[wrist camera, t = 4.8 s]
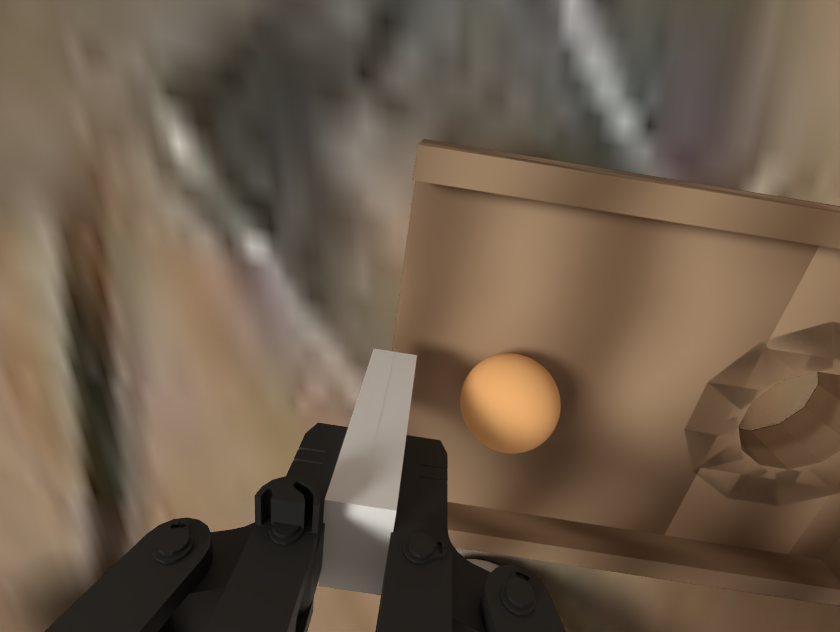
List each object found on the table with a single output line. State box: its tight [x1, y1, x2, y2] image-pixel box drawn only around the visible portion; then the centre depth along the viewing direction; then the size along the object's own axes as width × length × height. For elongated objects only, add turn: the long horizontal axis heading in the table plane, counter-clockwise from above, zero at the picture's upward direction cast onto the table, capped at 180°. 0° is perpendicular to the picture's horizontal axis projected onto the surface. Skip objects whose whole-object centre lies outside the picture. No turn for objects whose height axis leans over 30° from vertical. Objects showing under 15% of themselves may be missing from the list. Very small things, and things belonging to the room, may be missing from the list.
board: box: [392, 139, 840, 606], centre depth 18 cm, size 22×16×4 cm
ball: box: [460, 353, 561, 453], centre depth 16 cm, size 4×4×4 cm
